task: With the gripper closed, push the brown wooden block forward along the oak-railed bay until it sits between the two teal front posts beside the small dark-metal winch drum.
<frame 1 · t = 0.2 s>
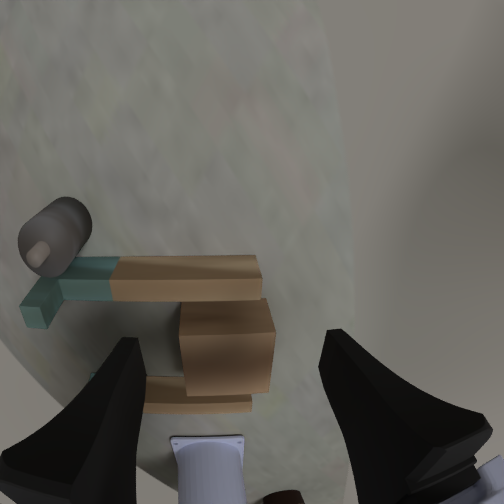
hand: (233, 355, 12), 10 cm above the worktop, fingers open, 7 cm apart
coffee mug: (279, 498, 43), on the worktop
bay: (171, 333, 23), on the worktop
brown wooden block: (224, 330, 24), on the worktop
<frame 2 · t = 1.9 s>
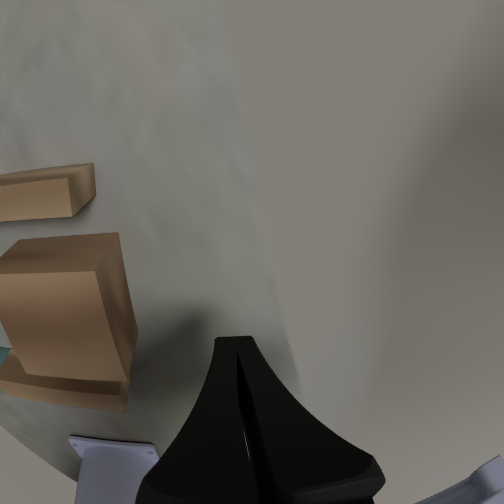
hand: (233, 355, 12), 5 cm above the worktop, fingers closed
bay: (19, 287, 15), on the worktop
brown wooden block: (78, 286, 15), on the worktop
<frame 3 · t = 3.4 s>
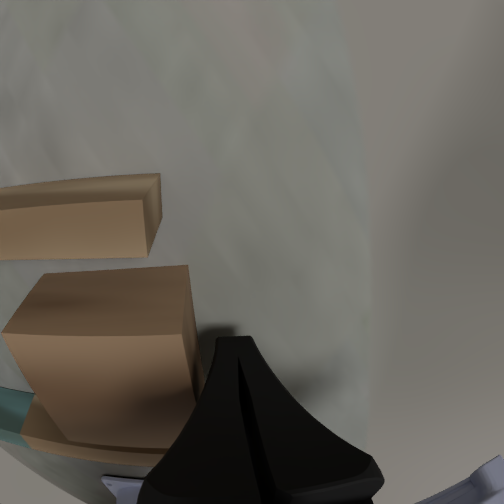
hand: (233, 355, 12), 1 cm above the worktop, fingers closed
bay: (47, 329, 12), on the worktop
brown wooden block: (127, 330, 13), on the worktop, touching gripper
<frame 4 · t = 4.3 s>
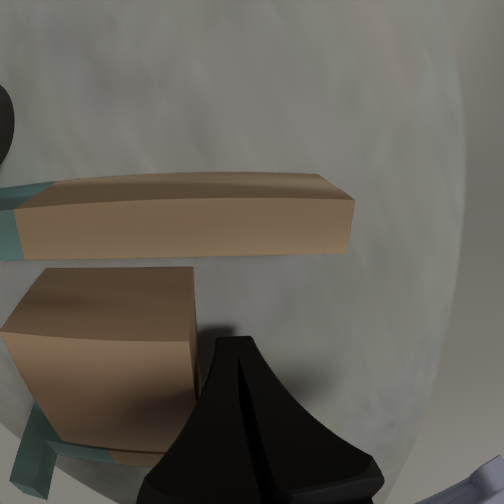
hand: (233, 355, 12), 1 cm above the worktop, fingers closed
bay: (155, 334, 13), on the worktop
brown wooden block: (126, 331, 12), on the worktop, touching gripper
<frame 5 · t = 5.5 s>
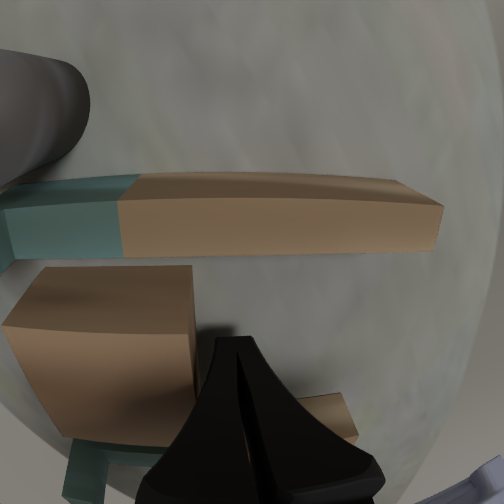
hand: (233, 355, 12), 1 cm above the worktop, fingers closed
bay: (230, 332, 13), on the worktop
brown wooden block: (126, 327, 13), on the worktop
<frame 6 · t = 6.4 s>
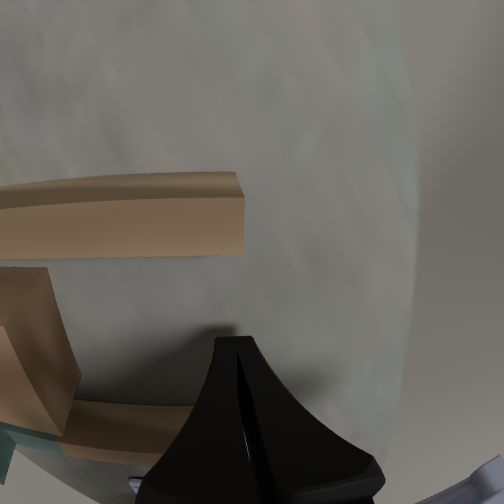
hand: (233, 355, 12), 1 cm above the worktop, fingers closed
bay: (92, 331, 12), on the worktop
brown wooden block: (14, 320, 12), on the worktop
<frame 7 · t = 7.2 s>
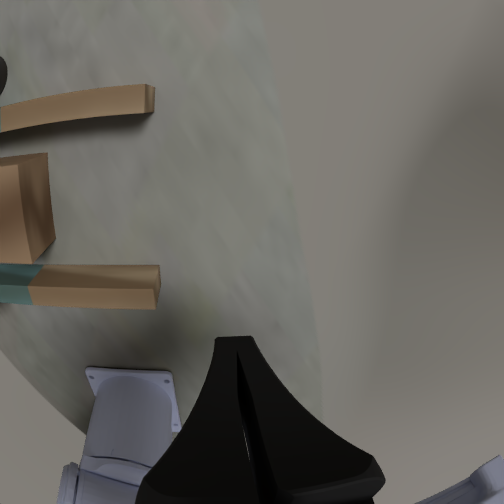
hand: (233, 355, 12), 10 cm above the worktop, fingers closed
bay: (68, 196, 18), on the worktop
brown wooden block: (18, 197, 18), on the worktop
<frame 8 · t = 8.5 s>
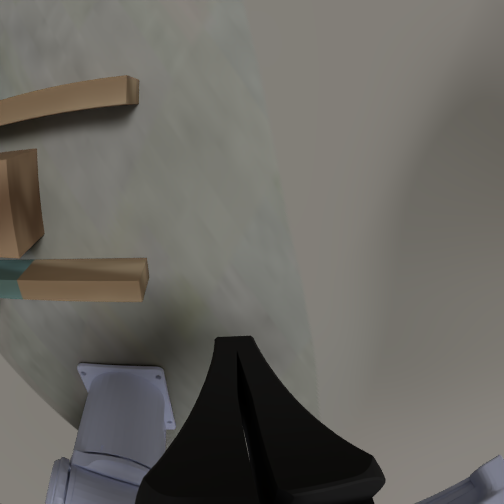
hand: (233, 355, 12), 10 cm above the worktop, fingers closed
bay: (56, 190, 18), on the worktop
brown wooden block: (8, 193, 17), on the worktop
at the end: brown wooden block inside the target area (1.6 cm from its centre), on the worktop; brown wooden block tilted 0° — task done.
